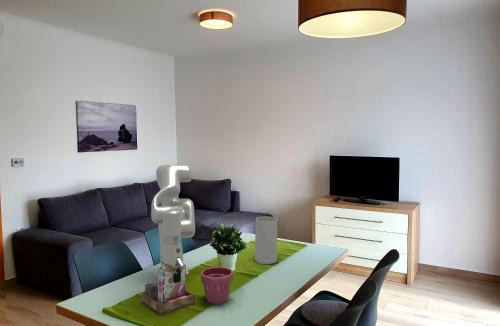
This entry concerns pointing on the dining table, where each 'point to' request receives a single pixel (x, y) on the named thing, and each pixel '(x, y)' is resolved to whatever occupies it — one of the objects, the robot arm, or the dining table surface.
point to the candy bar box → (170, 284)
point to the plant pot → (216, 283)
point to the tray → (152, 302)
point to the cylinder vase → (266, 240)
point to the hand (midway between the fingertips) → (171, 279)
